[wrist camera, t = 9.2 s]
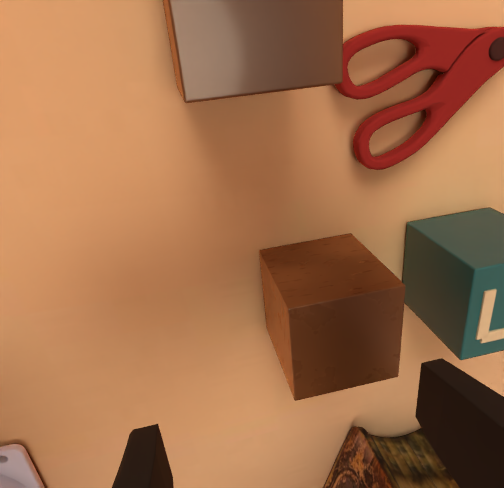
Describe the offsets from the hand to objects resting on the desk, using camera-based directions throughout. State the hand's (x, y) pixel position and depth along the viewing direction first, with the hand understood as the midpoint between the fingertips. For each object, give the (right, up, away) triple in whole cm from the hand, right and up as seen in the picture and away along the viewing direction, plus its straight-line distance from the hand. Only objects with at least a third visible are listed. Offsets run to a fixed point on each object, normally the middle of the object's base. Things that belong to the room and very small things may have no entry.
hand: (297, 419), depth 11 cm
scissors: (+9, +13, +6) cm, 17 cm away
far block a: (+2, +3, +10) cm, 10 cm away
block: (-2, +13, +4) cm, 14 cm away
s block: (+9, +4, +11) cm, 14 cm away
